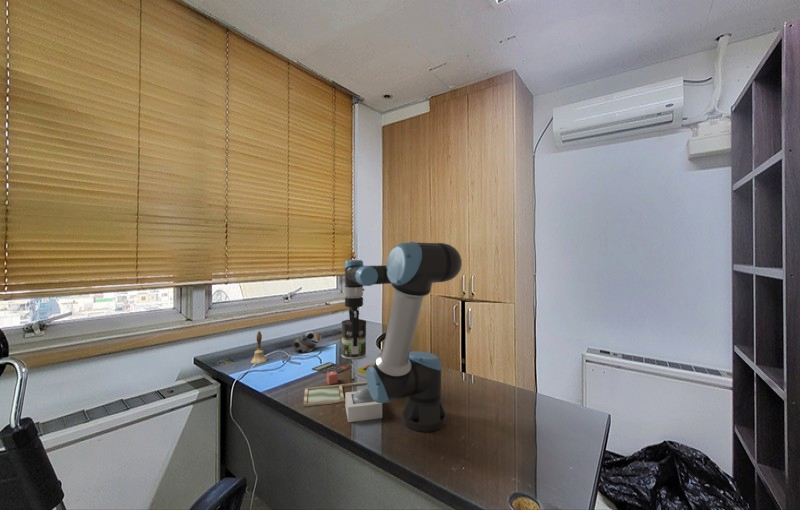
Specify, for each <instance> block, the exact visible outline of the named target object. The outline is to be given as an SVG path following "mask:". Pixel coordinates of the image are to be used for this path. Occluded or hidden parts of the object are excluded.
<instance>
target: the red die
mask: <svg viewBox="0 0 800 510" xmlns="http://www.w3.org/2000/svg"><path fill="white" fill-rule="evenodd" d="M325 375H326V377H325V378H326V381H325V382H326V383H327V384H328V386H330V385H336V384H338V383H339V379H338V378H339V377H338V376H339V373H338V374H337V373H336V372H335V371H333V372H328V373H326V374H325Z"/></svg>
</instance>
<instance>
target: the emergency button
mask: <svg viewBox="0 0 800 510" xmlns="http://www.w3.org/2000/svg"><path fill="white" fill-rule="evenodd" d="M371 365H372V366H374V365H375V363H371V364H368V365H365V366H363V367H359V368H358V369H356V374H355V375H354V377H356V378H358V379H360V380H363V381H364V382H367V381H366V370H367V368H368V367H370V366H371Z"/></svg>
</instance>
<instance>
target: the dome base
mask: <svg viewBox="0 0 800 510" xmlns="http://www.w3.org/2000/svg"><path fill="white" fill-rule="evenodd" d="M357 391H358V390H357ZM357 391H355V390H354V391H348V392H345V394H344V395H345V396H344V399H345V402H344V404H345V412H346V417H347V423H355V422H363V421H369V420H377V419H382V418H383V403H377V402H375V401H374V400H373V402H367V403H358V404H353V396H354V394H356V392H357Z"/></svg>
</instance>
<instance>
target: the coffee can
mask: <svg viewBox="0 0 800 510" xmlns="http://www.w3.org/2000/svg"><path fill="white" fill-rule="evenodd" d="M354 335H357V334H354ZM350 336H352V322H350V319H345V320H342V321H341V345H342V346H341V357H342V358H343V359H346V360H347V359H348V360H357V359H361V358H364V357H366V355H367V354H366V353H367V351H366V350H367V340H366V339H367V321H366V319H365V320H364V319H360V318H359V338H358V354H352V338H350Z"/></svg>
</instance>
